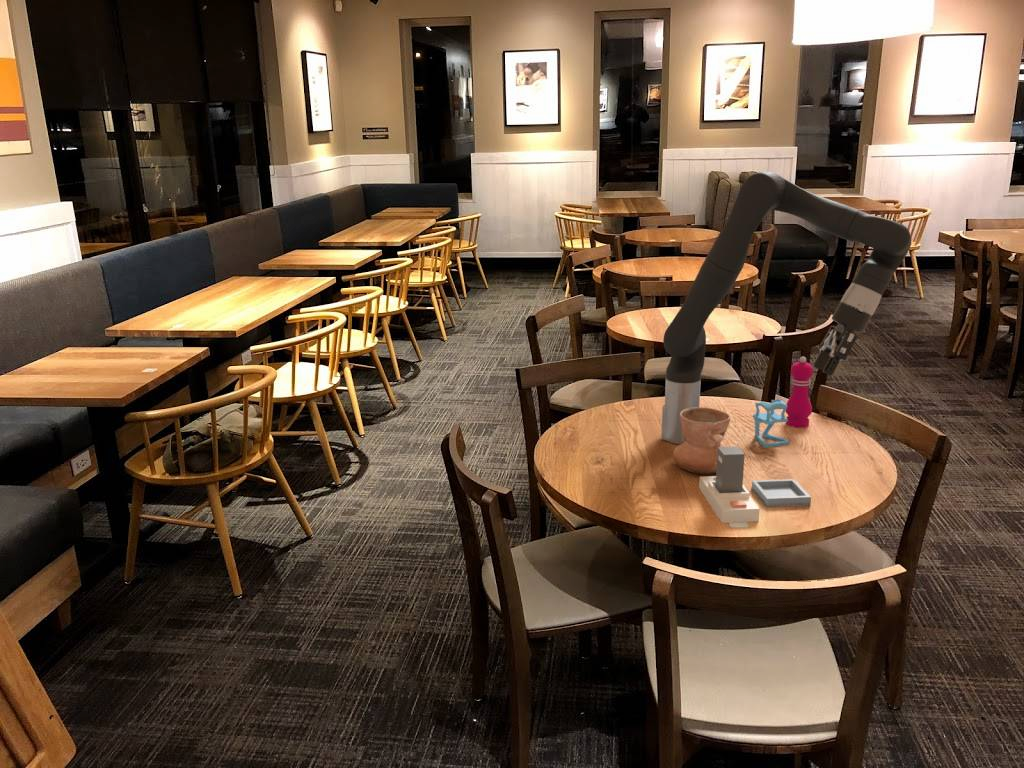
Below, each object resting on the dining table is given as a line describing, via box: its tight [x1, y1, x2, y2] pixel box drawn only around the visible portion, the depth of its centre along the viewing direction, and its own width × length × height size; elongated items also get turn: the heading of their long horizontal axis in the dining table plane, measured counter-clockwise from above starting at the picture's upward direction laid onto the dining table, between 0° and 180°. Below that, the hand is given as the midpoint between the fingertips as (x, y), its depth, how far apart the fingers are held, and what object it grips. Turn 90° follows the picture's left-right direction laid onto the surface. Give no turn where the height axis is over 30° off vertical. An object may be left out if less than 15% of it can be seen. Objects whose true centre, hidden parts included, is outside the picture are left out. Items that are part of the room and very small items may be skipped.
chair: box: [752, 399, 790, 449], centre depth 219 cm, size 8×8×12 cm
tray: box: [751, 478, 812, 508], centre depth 187 cm, size 10×10×2 cm
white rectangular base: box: [698, 475, 761, 524], centre depth 183 cm, size 18×8×4 cm, turn 3°
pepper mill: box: [785, 356, 814, 429], centre depth 230 cm, size 7×7×20 cm
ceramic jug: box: [672, 406, 731, 475], centre depth 203 cm, size 18×14×14 cm
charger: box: [715, 445, 746, 493], centre depth 182 cm, size 5×5×10 cm
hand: (821, 371), depth 188 cm, fingers open, 8 cm apart
